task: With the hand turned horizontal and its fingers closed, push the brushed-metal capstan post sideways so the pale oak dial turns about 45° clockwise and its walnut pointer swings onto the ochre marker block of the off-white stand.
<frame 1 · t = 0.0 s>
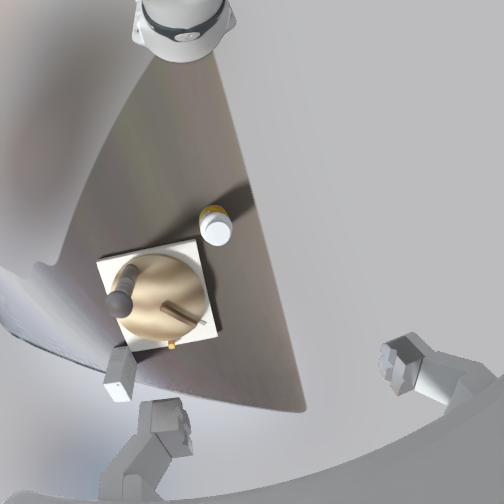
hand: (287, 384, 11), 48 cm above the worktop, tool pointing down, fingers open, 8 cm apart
dial stand: (158, 294, 60), on the worktop
supplement bottle: (213, 218, 57), on the worktop
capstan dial: (154, 317, 52), point 9 cm above the worktop, hinge at 0.0°
skincare box: (125, 355, 64), on the worktop
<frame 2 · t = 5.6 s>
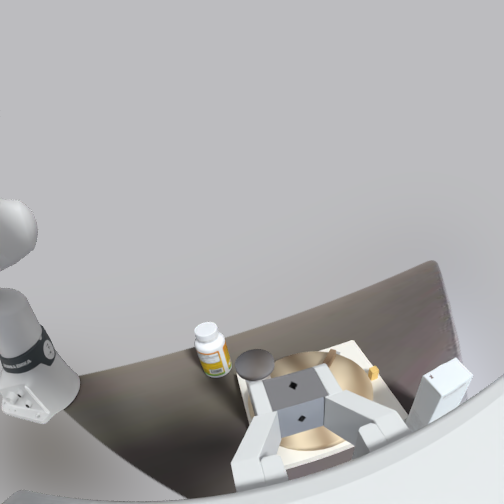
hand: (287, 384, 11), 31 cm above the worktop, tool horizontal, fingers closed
dial stand: (311, 405, 43), on the worktop
supplement bottle: (218, 369, 55), on the worktop
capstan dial: (309, 369, 40), point 9 cm above the worktop, hinge at 0.0°
skincare box: (425, 427, 34), on the worktop
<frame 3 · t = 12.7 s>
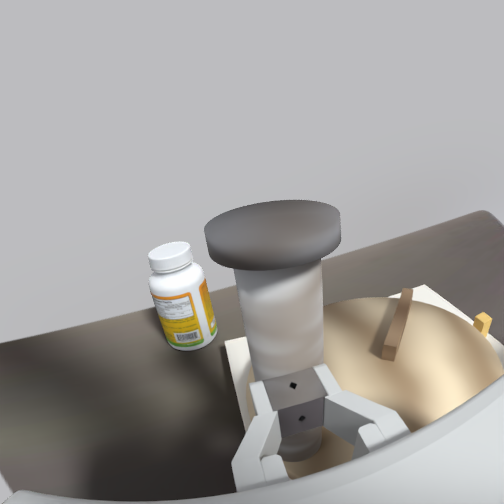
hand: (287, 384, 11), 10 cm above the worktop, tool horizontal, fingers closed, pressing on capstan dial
dial stand: (378, 397, 20), on the worktop
supplement bottle: (193, 337, 31), on the worktop
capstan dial: (393, 301, 16), point 9 cm above the worktop, hinge at -0.4°, touching gripper
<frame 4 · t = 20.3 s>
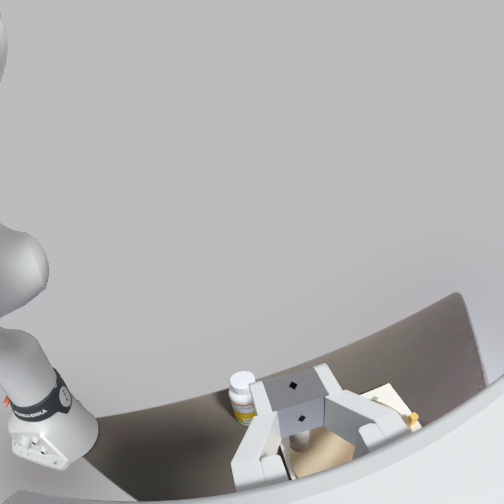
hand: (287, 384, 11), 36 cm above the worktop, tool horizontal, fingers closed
dial stand: (351, 453, 38), on the worktop
supplement bottle: (250, 415, 49), on the worktop
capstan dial: (357, 424, 35), point 9 cm above the worktop, hinge at -46.4°
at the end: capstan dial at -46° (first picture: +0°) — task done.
